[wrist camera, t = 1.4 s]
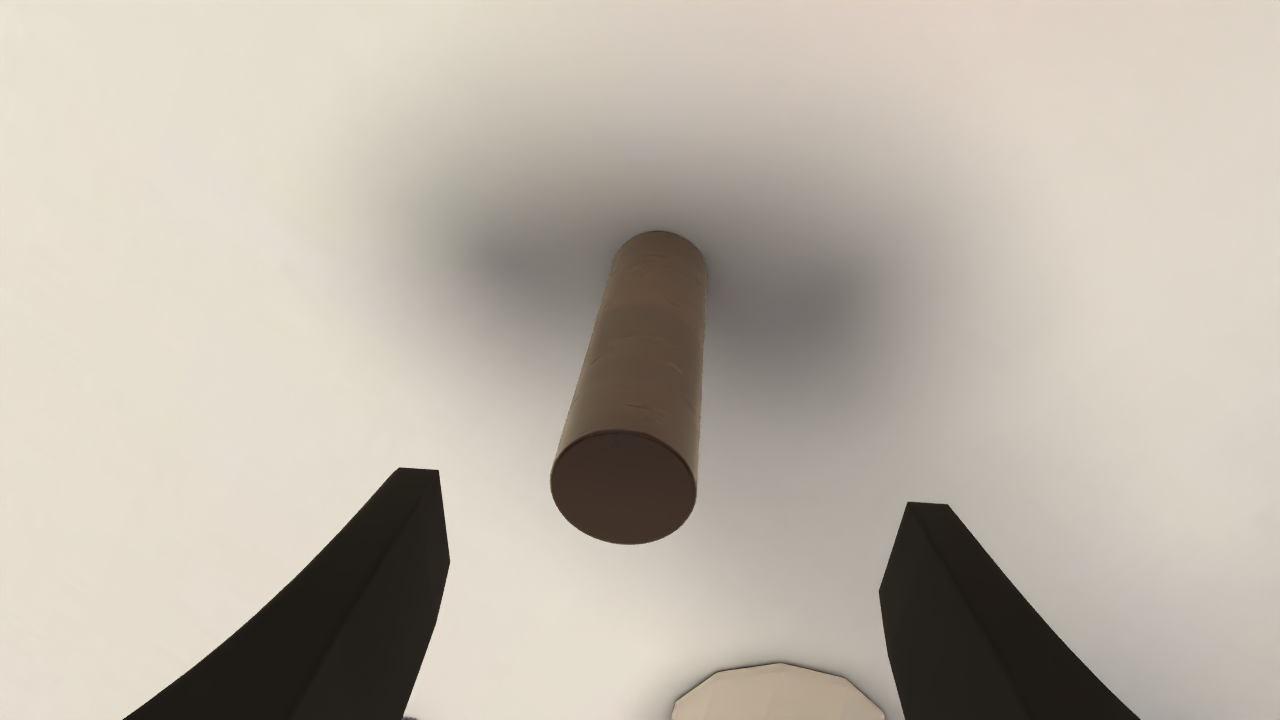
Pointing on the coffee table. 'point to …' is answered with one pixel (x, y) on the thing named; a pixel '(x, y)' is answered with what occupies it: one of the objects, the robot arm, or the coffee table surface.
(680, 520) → the brown cylinder
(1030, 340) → the coffee table surface
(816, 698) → the vase
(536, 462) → the coffee table surface
